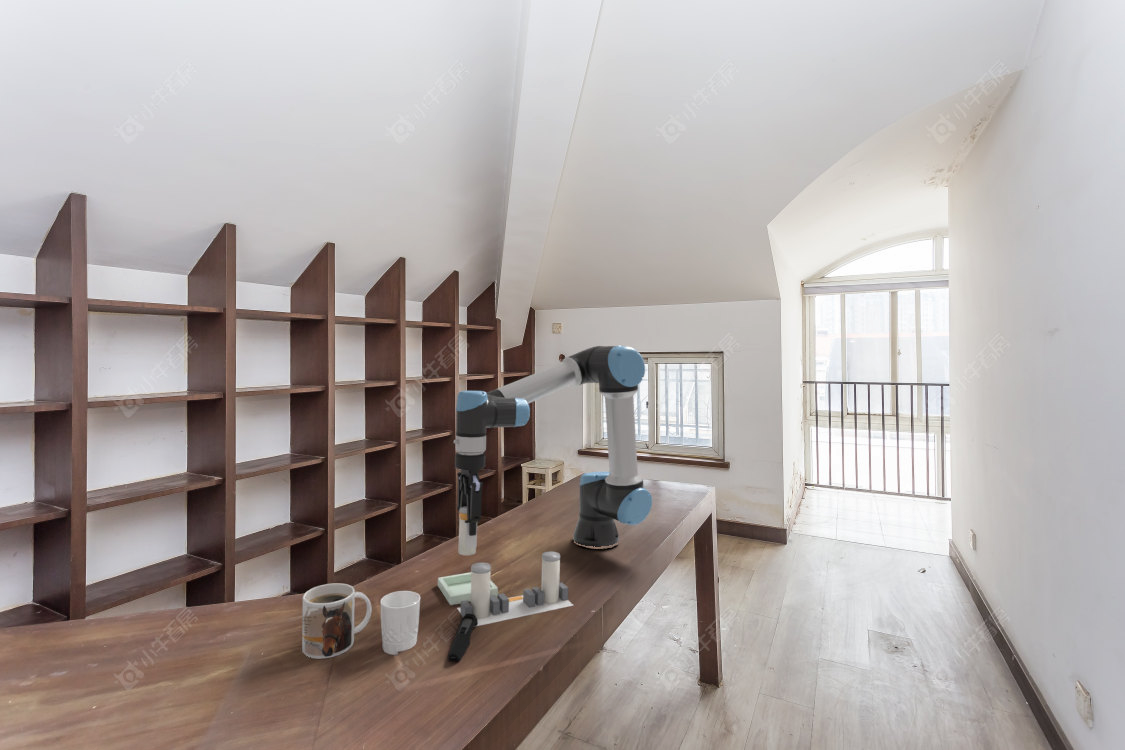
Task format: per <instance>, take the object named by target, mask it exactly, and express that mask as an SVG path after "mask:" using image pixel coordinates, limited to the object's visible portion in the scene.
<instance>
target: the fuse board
mask: <svg viewBox="0 0 1125 750" xmlns="http://www.w3.org/2000/svg"><path fill="white" fill-rule="evenodd" d="M522 591H523V593H522V594H521V595H516V596H511V597H508V596H506V594H505V593H504V592H503V593H502V592H501V593H498V596H497V597H496V596H495V595H491V596H490V614H489V616H488V617H486V618H481V619H477V620H478V621H477V622H478V624H477V626H474V627H473V628H476V627H479V626H480V627H481V626H484V625H488V624H489V625H490V624H494V623H498V622H502V621H508V620H512V619H518V618H523V617H526V616H531V615H536V614H541V613H544V612H551V611H554V610H559V609H564V608H567V607H573V606H574V604H573V603H572V602H571V601H570V600H569V587H568V586H567V585H566V584H564V583H563V582H560V581H559V601H558V602H557V603H554V604H547V603H544V592H543V591H542V590H541V588H540V587H538V586H534V587H531V589H530V588H524V589H523V590H522ZM456 609H457V610H458V613H460V615H461V617H462V618H463V617H464V616H465V615H466V614H472V606H471V602H468V601H467V600H465V601H461V603H460V607H457V608H456Z"/></svg>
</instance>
